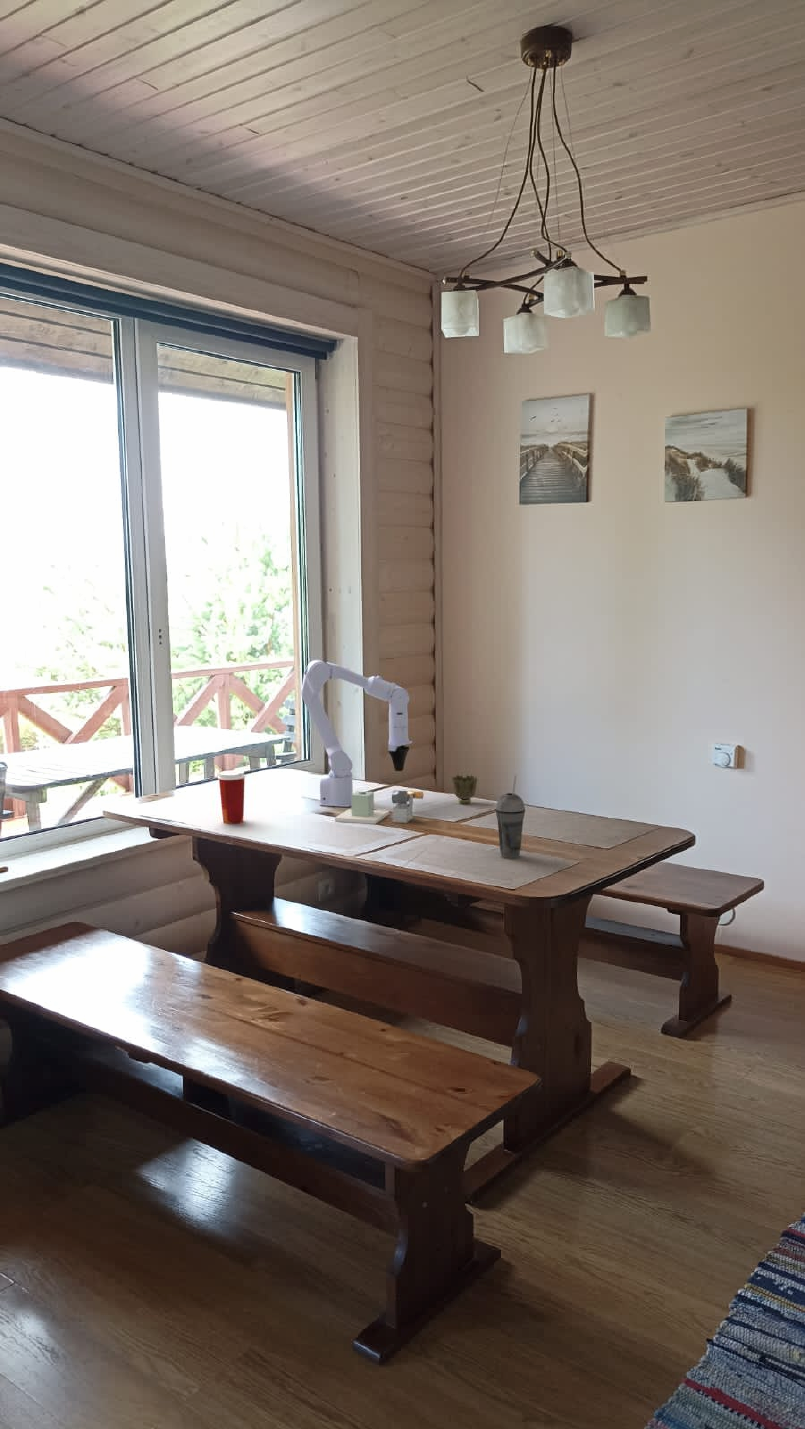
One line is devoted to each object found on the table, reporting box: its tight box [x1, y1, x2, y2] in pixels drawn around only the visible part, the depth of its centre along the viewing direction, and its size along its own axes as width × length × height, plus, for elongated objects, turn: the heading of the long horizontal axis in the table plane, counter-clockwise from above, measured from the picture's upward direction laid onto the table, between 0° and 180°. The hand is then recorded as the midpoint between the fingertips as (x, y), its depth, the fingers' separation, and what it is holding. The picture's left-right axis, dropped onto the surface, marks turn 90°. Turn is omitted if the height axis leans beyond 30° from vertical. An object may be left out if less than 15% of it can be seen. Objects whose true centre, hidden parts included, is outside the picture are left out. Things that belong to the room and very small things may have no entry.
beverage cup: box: [494, 775, 526, 860], centre depth 243 cm, size 7×7×20 cm
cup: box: [452, 774, 478, 805], centre depth 302 cm, size 8×7×8 cm
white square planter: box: [392, 795, 414, 824], centre depth 281 cm, size 4×6×7 cm
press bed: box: [334, 807, 390, 825], centre depth 285 cm, size 12×12×1 cm
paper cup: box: [217, 769, 246, 825], centre depth 282 cm, size 8×8×14 cm
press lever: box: [391, 789, 424, 805], centre depth 285 cm, size 5×17×4 cm, turn 163°
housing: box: [350, 790, 375, 817], centre depth 285 cm, size 5×5×6 cm
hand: (399, 770), depth 305 cm, fingers closed
